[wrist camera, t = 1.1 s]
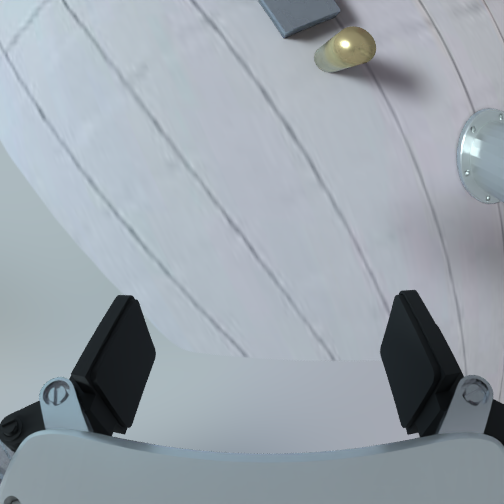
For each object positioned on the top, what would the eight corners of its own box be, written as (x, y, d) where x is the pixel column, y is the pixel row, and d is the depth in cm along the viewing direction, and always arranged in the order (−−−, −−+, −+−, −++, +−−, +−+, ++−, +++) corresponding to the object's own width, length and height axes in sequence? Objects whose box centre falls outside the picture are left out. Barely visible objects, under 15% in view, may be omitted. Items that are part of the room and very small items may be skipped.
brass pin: (334, 41, 25) (363, 21, 16) (348, 66, 26) (382, 56, 17) (308, 52, 26) (328, 34, 17) (323, 76, 27) (349, 69, 18)
